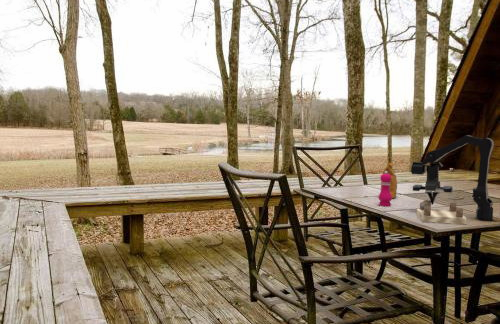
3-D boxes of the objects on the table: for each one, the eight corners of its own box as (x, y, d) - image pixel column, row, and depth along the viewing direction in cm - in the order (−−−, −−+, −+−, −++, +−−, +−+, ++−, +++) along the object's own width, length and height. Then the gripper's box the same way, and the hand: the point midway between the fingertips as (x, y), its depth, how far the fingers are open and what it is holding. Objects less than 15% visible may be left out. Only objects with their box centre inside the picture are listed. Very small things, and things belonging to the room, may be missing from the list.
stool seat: (456, 216, 212) (457, 202, 211) (466, 224, 194) (466, 209, 193) (416, 214, 217) (417, 200, 216) (422, 222, 198) (422, 207, 198)
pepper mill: (388, 204, 244) (390, 170, 242) (393, 206, 237) (394, 171, 235) (376, 204, 244) (377, 170, 242) (380, 206, 236) (382, 171, 235)
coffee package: (398, 196, 270) (400, 162, 268) (394, 199, 259) (395, 164, 257) (383, 195, 275) (384, 162, 273) (378, 198, 264) (379, 163, 262)
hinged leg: (425, 209, 211) (425, 204, 211) (419, 209, 213) (419, 203, 213) (431, 206, 221) (431, 200, 221) (425, 205, 223) (425, 200, 223)
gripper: (410, 176, 216) (410, 205, 217) (450, 177, 206) (450, 208, 207) (414, 174, 225) (414, 202, 226) (453, 175, 216) (452, 205, 217)
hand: (432, 204), depth 219 cm, fingers closed
